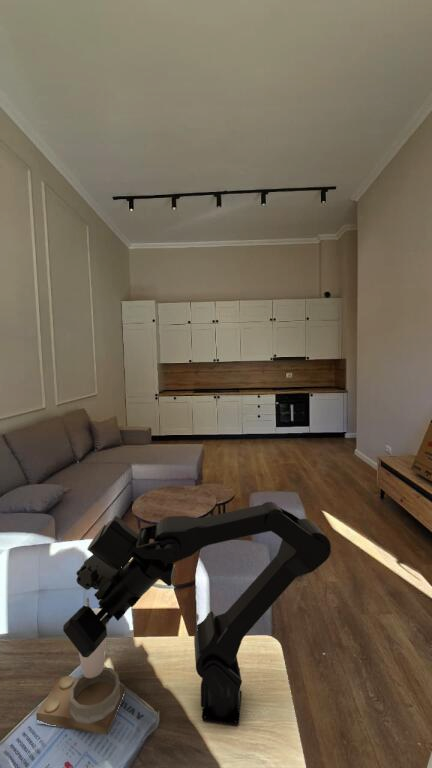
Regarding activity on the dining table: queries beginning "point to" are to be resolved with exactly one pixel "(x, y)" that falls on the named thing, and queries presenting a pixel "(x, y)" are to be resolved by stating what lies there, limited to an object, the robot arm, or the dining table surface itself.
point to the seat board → (83, 702)
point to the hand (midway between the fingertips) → (85, 628)
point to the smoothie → (94, 655)
